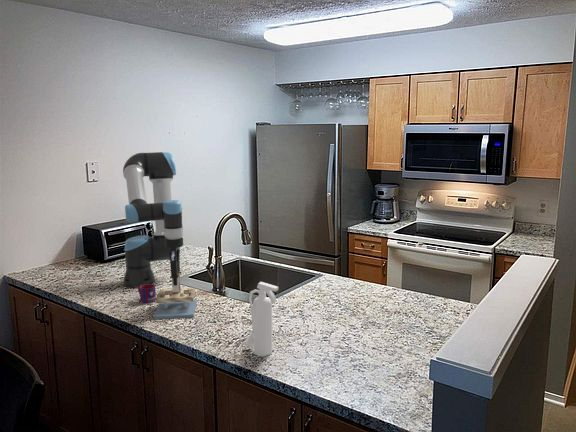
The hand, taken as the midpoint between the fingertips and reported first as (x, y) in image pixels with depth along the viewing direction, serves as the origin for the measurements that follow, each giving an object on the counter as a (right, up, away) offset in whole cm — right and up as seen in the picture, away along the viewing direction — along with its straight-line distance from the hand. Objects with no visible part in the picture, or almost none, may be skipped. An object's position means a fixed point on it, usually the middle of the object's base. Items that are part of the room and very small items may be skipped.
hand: (176, 290), depth 198 cm
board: (0, -8, -3) cm, 9 cm away
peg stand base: (0, -3, -1) cm, 3 cm away
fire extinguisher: (+39, -15, -39) cm, 57 cm away
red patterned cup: (-16, -6, +10) cm, 20 cm away
